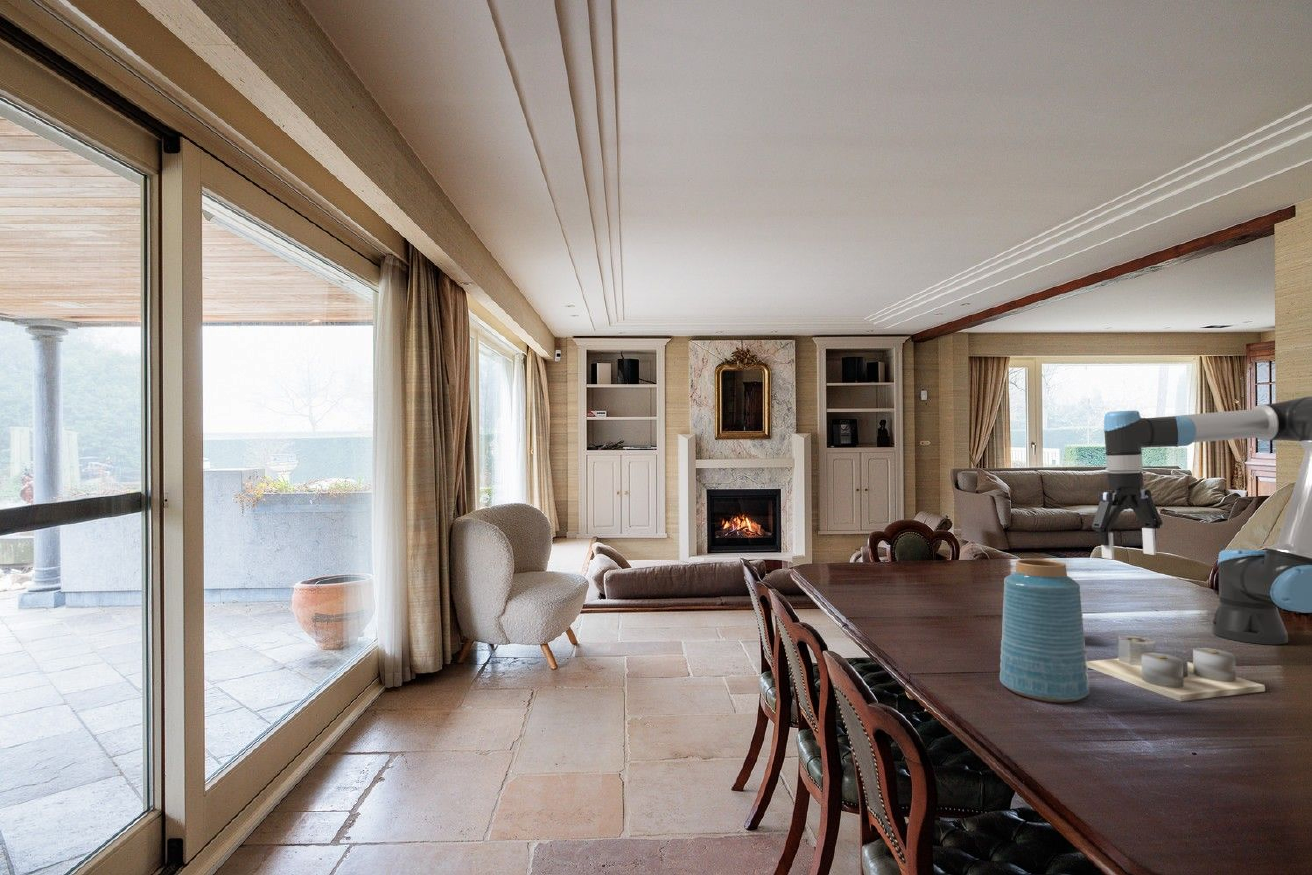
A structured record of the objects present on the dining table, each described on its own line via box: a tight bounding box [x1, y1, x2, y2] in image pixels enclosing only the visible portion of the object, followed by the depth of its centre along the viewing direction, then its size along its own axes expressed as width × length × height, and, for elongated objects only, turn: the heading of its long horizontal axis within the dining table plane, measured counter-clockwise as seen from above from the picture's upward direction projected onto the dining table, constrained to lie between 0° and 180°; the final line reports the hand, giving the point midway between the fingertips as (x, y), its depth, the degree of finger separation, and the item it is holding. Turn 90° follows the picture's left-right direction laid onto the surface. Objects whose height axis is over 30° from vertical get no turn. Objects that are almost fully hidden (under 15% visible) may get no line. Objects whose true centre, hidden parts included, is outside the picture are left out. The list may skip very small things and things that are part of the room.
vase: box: [999, 558, 1090, 703], centre depth 141 cm, size 16×16×27 cm
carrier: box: [1087, 639, 1266, 702], centre depth 147 cm, size 22×22×6 cm
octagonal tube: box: [1117, 635, 1157, 666], centre depth 155 cm, size 7×7×5 cm
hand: (1129, 556), depth 169 cm, fingers open, 13 cm apart
